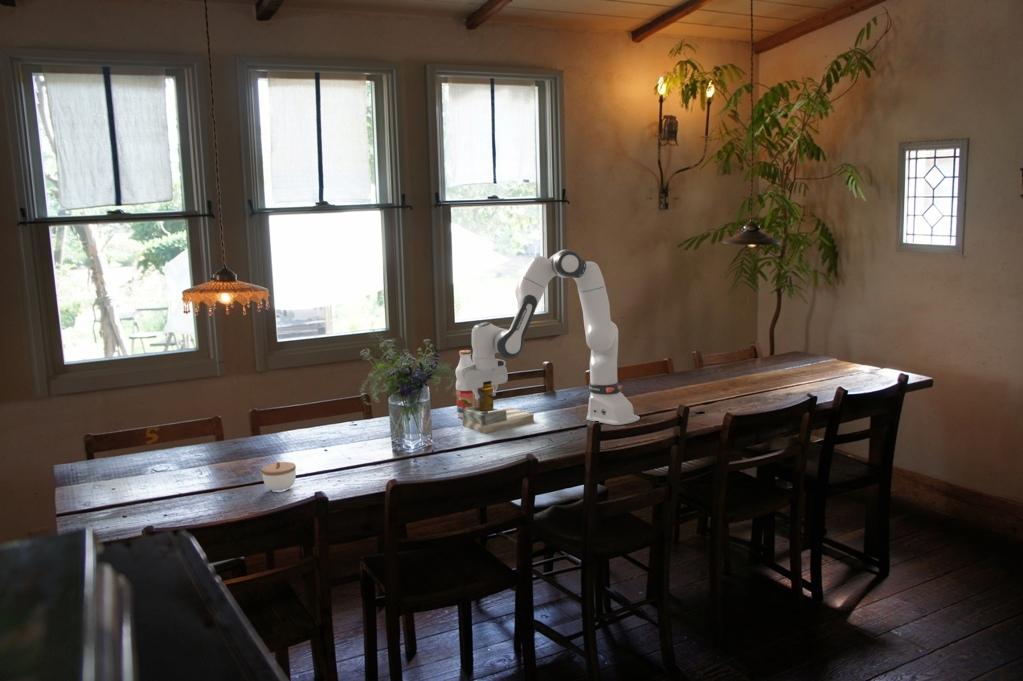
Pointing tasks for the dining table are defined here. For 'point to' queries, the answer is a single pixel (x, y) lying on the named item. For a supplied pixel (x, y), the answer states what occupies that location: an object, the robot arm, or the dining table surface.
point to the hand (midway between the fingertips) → (485, 397)
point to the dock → (495, 419)
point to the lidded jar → (279, 475)
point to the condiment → (485, 398)
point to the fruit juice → (463, 396)
